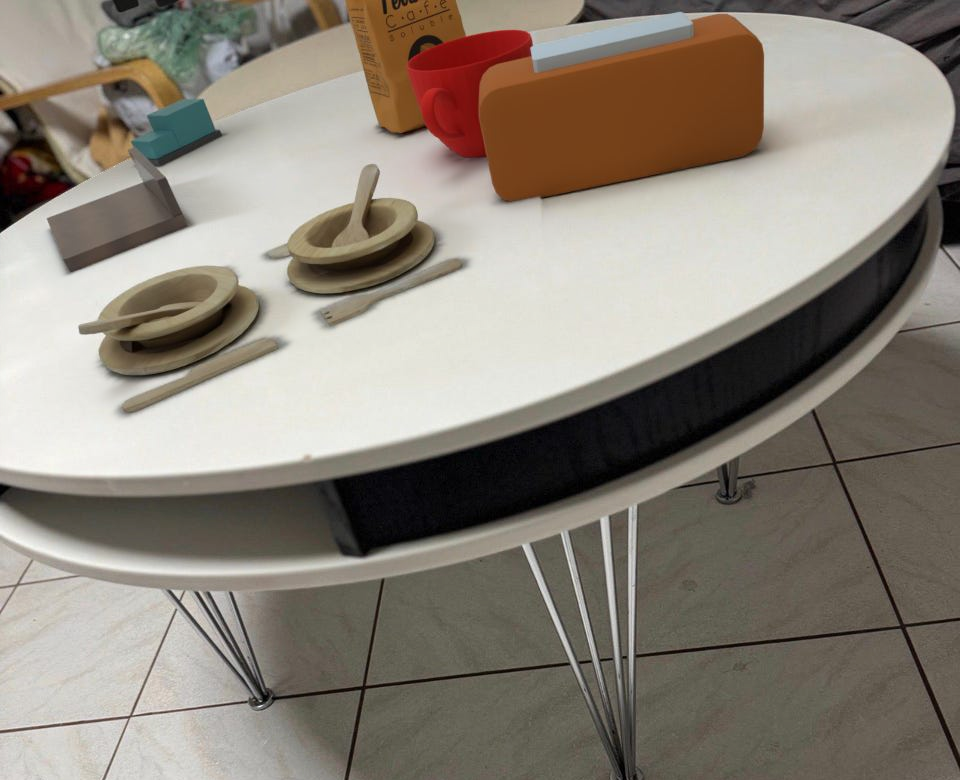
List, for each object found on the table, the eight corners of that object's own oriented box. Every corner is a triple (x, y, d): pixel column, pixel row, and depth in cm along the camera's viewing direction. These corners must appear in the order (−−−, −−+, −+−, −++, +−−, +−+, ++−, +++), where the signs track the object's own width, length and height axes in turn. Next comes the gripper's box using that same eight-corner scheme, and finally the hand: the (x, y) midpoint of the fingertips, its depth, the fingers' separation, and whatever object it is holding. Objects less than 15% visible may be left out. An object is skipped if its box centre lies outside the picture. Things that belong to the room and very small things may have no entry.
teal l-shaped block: (161, 169, 111) (142, 126, 107) (140, 167, 114) (120, 126, 110) (223, 138, 117) (207, 97, 113) (201, 137, 120) (184, 97, 116)
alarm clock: (742, 125, 78) (740, -8, 71) (764, 154, 72) (765, 11, 65) (496, 176, 82) (472, 54, 75) (496, 208, 75) (470, 78, 68)
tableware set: (123, 421, 59) (81, 351, 55) (93, 326, 74) (58, 266, 70) (478, 266, 67) (462, 196, 63) (387, 208, 81) (369, 148, 78)
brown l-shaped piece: (72, 275, 85) (42, 223, 82) (54, 232, 99) (27, 185, 95) (189, 229, 89) (165, 177, 85) (157, 193, 102) (135, 146, 99)
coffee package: (490, 112, 99) (448, -104, 85) (395, 145, 97) (336, -72, 83) (462, 97, 107) (419, -104, 93) (373, 127, 105) (316, -74, 91)
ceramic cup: (390, 190, 85) (362, 89, 79) (462, 129, 96) (442, 37, 90) (502, 186, 79) (480, 77, 73) (565, 122, 90) (551, 23, 84)
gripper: (18, -137, 98) (90, 20, 108) (89, -166, 88) (161, 11, 98) (72, -150, 102) (137, 3, 112) (146, -178, 92) (210, -8, 102)
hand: (148, 6), depth 105 cm, fingers open, 9 cm apart
